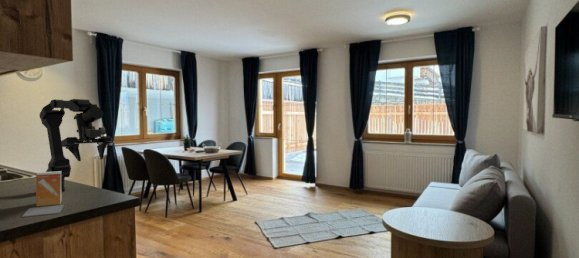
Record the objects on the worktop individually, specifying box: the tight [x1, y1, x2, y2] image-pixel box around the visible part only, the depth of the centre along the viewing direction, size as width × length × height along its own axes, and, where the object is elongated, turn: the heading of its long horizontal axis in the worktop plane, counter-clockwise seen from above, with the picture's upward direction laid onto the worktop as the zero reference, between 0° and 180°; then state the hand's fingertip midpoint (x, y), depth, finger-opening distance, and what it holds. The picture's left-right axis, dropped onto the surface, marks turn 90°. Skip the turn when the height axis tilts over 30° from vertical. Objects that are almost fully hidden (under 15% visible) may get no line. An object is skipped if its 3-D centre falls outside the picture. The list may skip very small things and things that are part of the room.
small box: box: [35, 171, 62, 207], centre depth 132 cm, size 8×6×13 cm
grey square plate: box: [21, 204, 65, 218], centre depth 122 cm, size 11×11×1 cm
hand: (91, 160), depth 139 cm, fingers open, 9 cm apart
